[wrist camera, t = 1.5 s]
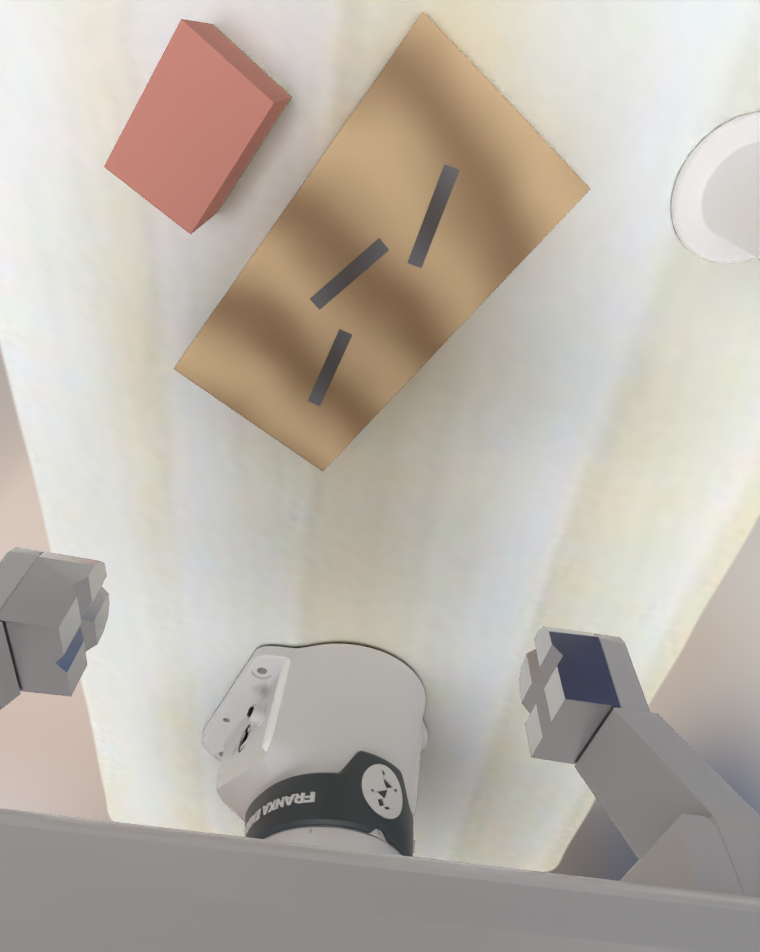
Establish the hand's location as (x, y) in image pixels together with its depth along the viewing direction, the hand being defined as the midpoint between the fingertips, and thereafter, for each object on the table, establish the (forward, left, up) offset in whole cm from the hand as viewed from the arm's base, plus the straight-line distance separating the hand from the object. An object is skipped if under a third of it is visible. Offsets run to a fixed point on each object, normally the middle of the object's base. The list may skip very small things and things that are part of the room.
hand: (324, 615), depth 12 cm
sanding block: (-1, +10, -28) cm, 29 cm away
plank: (-2, 0, -27) cm, 27 cm away
